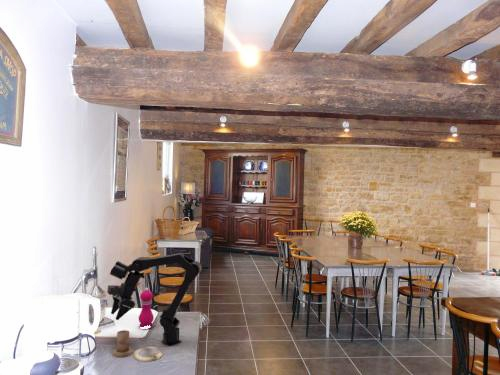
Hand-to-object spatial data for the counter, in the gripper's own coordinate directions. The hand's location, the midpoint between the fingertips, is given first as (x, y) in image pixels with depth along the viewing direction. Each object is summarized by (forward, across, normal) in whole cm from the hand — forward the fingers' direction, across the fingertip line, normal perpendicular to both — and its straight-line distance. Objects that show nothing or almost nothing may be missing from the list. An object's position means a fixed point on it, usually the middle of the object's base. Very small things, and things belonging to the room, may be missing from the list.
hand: (114, 316), depth 182 cm
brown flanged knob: (+11, +10, +7) cm, 17 cm away
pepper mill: (+2, -15, +22) cm, 27 cm away
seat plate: (+7, +17, +15) cm, 24 cm away
